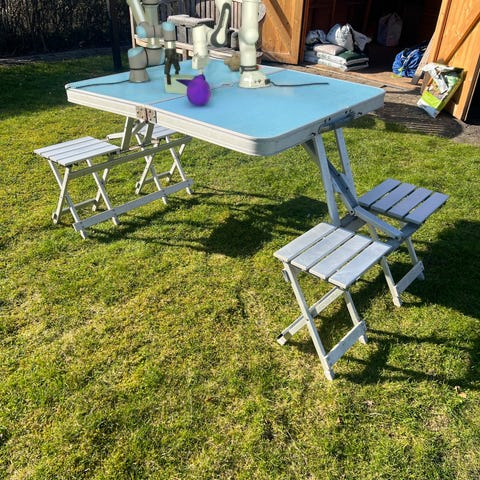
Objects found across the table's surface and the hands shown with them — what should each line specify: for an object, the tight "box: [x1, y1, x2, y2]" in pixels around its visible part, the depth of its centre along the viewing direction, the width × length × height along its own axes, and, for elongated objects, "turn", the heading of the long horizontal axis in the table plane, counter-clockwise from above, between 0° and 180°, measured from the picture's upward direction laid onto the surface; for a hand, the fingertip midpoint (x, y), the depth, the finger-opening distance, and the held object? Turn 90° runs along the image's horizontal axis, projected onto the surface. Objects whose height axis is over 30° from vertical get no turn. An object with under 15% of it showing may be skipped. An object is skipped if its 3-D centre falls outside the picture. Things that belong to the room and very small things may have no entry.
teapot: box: [223, 50, 240, 72], centre depth 366 cm, size 21×12×15 cm, turn 120°
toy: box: [176, 74, 212, 107], centre depth 271 cm, size 16×18×27 cm
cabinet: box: [163, 73, 198, 95], centre depth 302 cm, size 20×12×10 cm, turn 70°
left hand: (173, 82), depth 304 cm, fingers closed on cabinet, 11 cm apart
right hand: (201, 74), depth 294 cm, fingers closed
